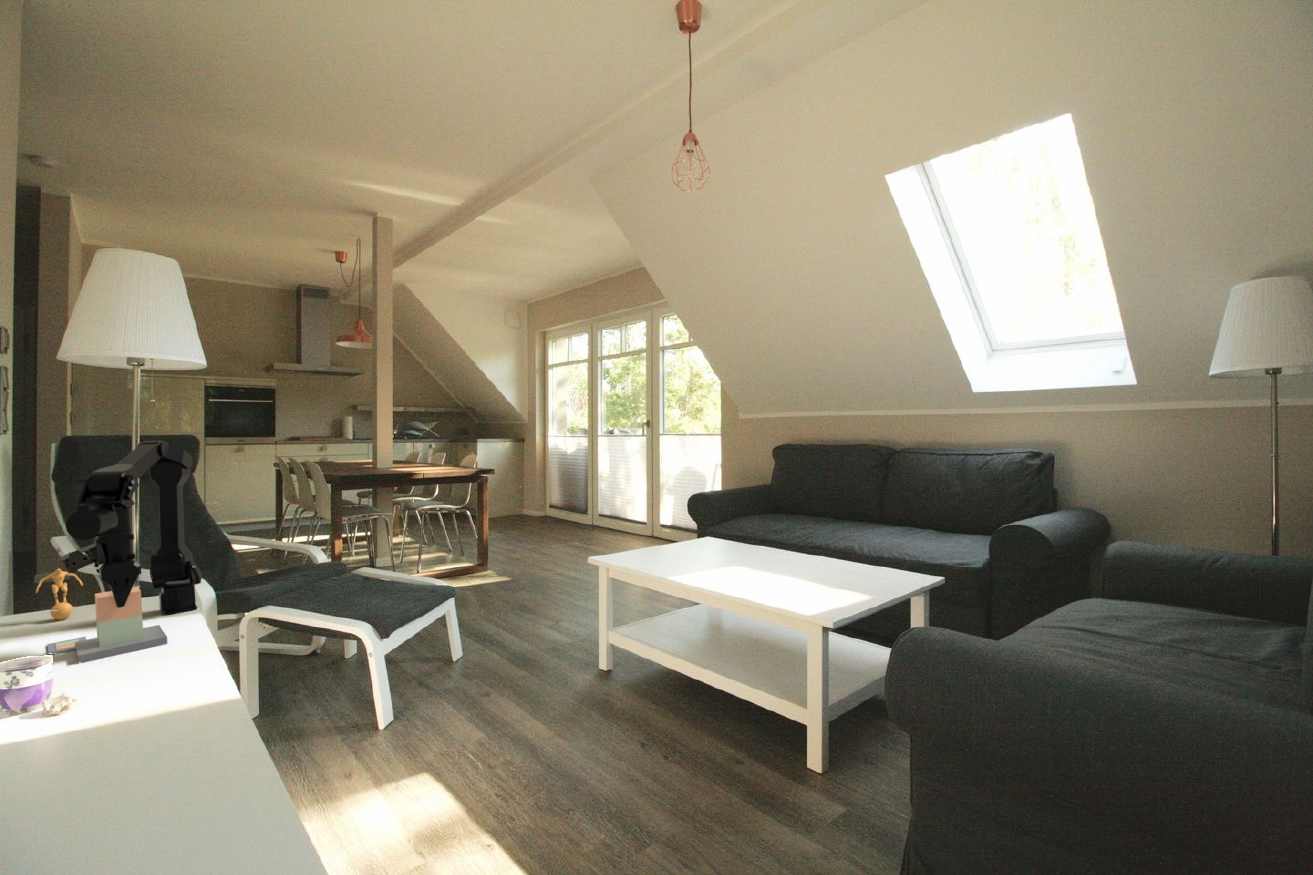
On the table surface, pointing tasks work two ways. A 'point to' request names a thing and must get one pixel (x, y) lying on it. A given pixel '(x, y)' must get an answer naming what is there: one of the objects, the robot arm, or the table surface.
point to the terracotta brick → (109, 609)
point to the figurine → (64, 607)
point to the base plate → (119, 645)
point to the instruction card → (63, 645)
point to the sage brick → (119, 630)
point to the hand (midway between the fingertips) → (119, 604)
